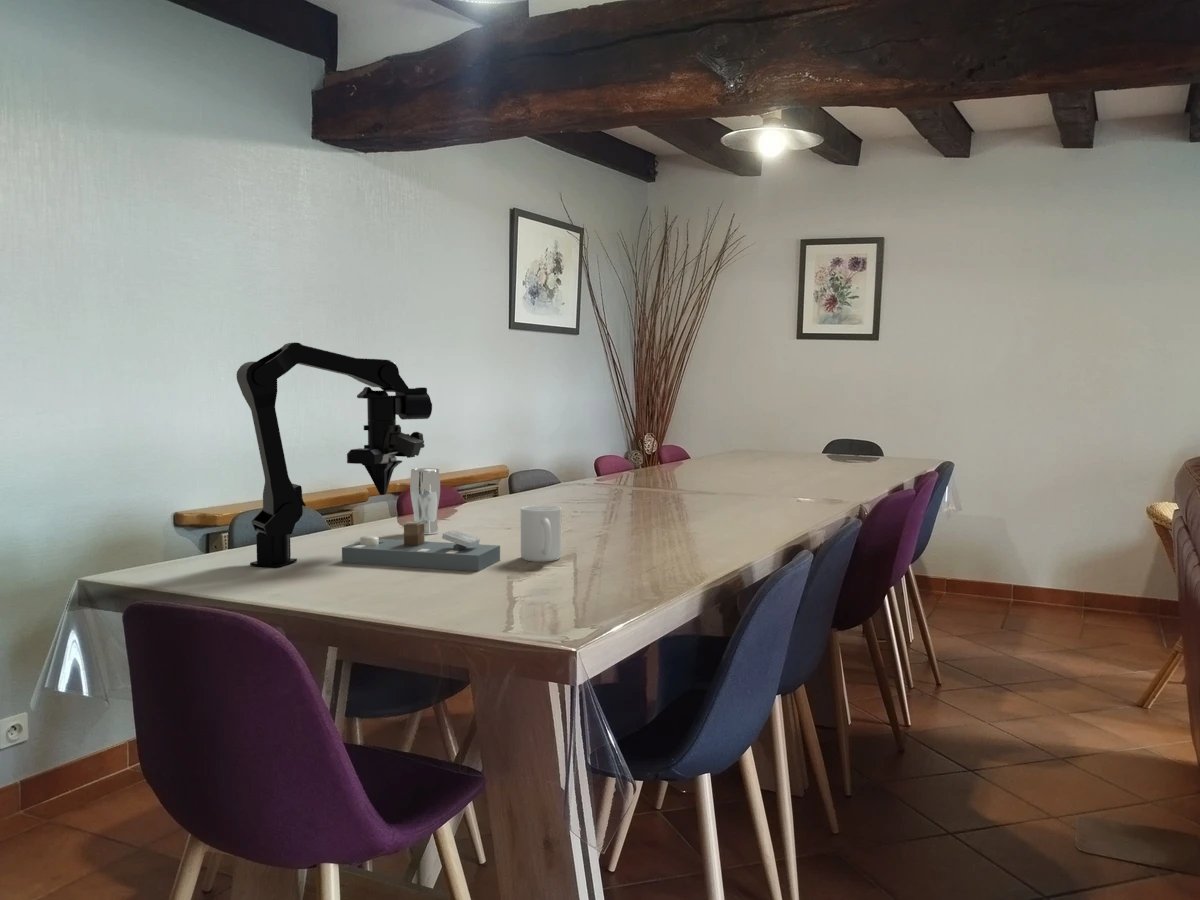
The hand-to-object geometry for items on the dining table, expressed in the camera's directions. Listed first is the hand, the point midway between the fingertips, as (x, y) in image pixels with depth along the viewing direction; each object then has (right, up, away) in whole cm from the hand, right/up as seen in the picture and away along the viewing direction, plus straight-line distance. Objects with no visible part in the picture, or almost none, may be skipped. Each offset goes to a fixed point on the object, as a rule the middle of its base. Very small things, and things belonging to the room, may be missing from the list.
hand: (382, 494), depth 192 cm
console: (+10, -13, -10) cm, 19 cm away
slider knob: (+8, -10, -7) cm, 15 cm away
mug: (+34, -13, -7) cm, 37 cm away
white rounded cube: (-1, -12, -7) cm, 14 cm away
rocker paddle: (+18, -8, -12) cm, 23 cm away
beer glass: (+4, -10, +25) cm, 27 cm away
